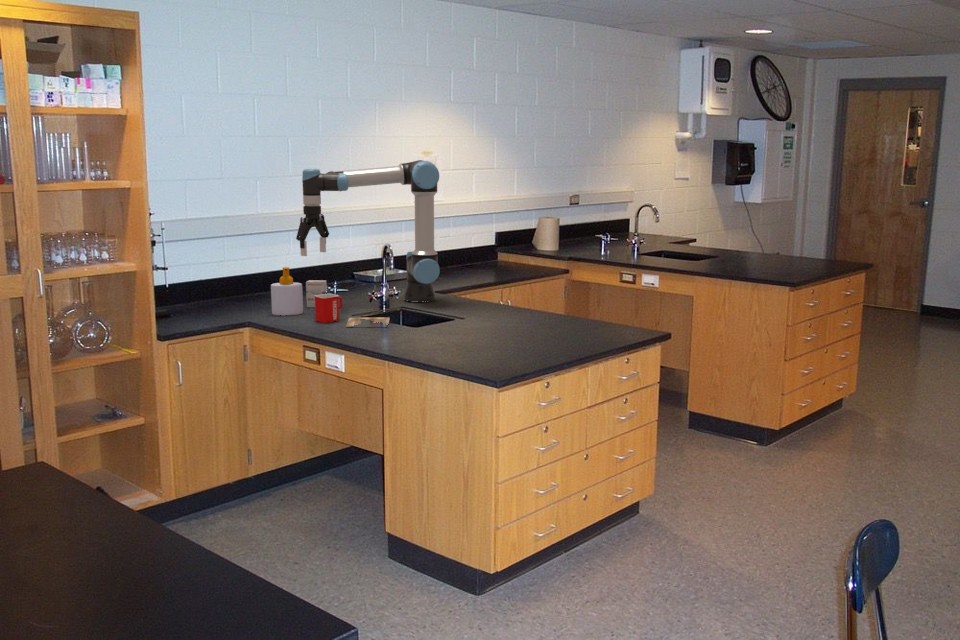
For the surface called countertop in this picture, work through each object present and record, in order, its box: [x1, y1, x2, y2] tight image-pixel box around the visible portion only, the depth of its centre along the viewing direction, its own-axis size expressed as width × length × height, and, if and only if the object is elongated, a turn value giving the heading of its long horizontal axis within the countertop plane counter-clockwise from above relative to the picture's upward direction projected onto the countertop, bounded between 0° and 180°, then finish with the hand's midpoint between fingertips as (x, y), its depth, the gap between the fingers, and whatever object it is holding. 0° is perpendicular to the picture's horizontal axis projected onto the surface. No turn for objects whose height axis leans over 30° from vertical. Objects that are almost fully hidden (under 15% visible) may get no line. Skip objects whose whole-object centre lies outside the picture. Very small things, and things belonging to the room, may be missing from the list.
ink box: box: [305, 279, 328, 308], centre depth 421 cm, size 9×5×12 cm, turn 84°
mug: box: [314, 293, 343, 324], centre depth 392 cm, size 12×8×11 cm
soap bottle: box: [270, 266, 304, 317], centre depth 403 cm, size 13×8×20 cm, turn 102°
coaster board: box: [345, 316, 391, 328], centre depth 387 cm, size 17×17×1 cm
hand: (313, 254), depth 408 cm, fingers open, 13 cm apart
